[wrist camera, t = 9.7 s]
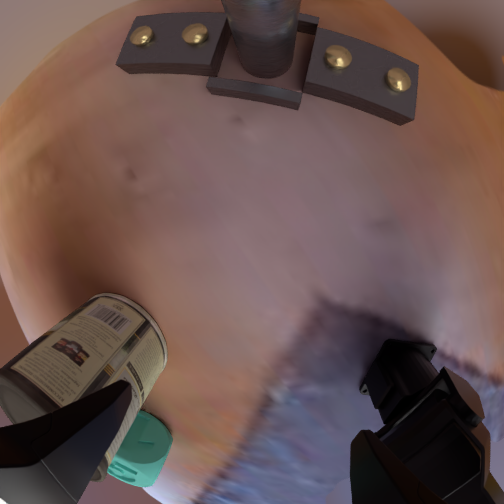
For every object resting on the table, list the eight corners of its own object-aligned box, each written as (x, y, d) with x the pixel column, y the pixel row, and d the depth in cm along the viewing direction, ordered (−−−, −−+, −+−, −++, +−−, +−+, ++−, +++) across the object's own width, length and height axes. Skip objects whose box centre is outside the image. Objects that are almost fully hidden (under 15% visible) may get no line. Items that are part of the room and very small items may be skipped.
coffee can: (100, 373, 25) (35, 453, 12) (71, 291, 23) (-28, 358, 9) (179, 385, 24) (128, 498, 11) (156, 292, 22) (50, 400, 8)
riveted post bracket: (407, 61, 15) (422, 48, 12) (397, 143, 17) (415, 138, 14) (153, 16, 16) (140, 0, 13) (124, 89, 18) (105, 79, 15)
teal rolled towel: (178, 426, 26) (159, 477, 18) (163, 450, 28) (146, 493, 20) (119, 395, 26) (89, 440, 18) (112, 424, 28) (88, 462, 20)
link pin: (310, 54, 16) (349, -92, 2) (272, 94, 17) (264, -61, 3) (260, 25, 16) (240, -116, 1) (222, 63, 17) (149, -75, 2)
